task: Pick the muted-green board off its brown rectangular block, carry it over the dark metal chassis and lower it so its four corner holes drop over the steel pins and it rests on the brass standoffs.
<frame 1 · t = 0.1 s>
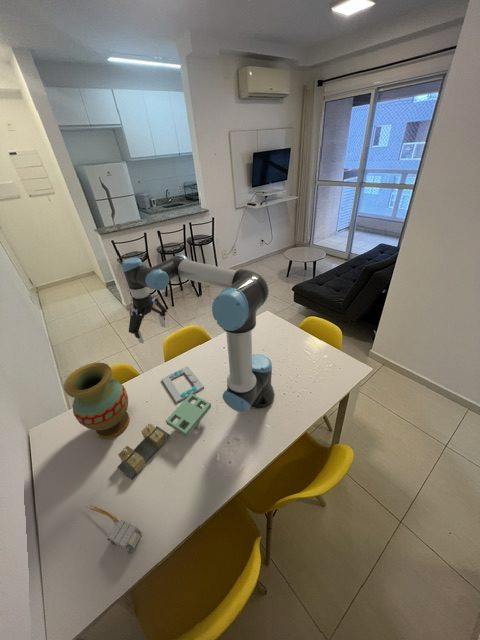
hand: (152, 334, 121), 28 cm above the table, fingers open, 13 cm apart
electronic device: (183, 385, 132), on the table
electrical component: (110, 528, 83), on the table
board: (189, 415, 109), point 6 cm above the table, touching brown rectangular block
brown rectangular block: (191, 423, 113), on the table
chassis: (145, 451, 103), on the table
vase: (113, 424, 114), on the table
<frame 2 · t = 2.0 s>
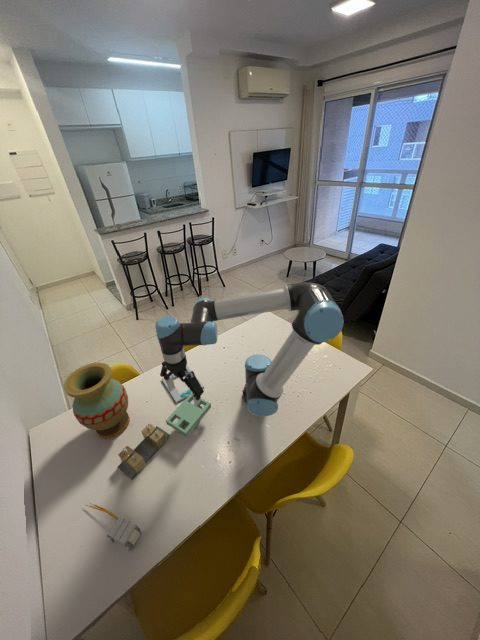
hand: (184, 396, 102), 18 cm above the table, fingers open, 13 cm apart
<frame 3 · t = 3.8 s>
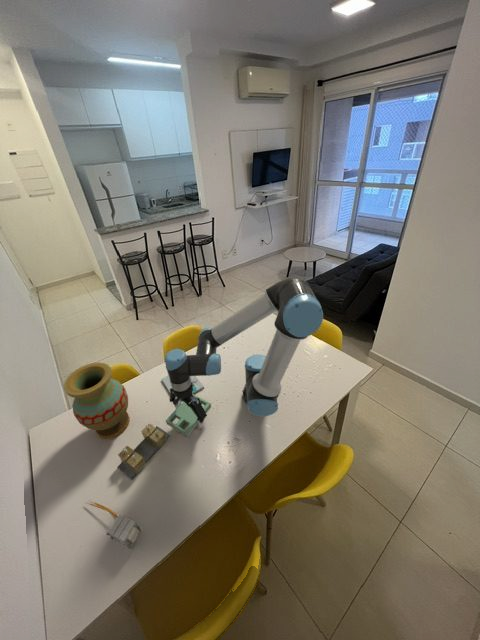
hand: (190, 419, 111), 3 cm above the table, fingers closed on board, 11 cm apart
board: (189, 415, 109), point 6 cm above the table, touching gripper, brown rectangular block
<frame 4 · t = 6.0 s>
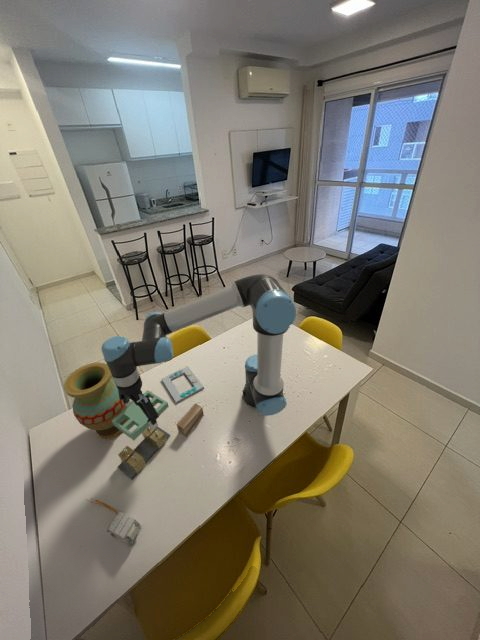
hand: (143, 420, 96), 17 cm above the table, fingers closed on board, 11 cm apart
board: (142, 415, 94), point 20 cm above the table, touching gripper
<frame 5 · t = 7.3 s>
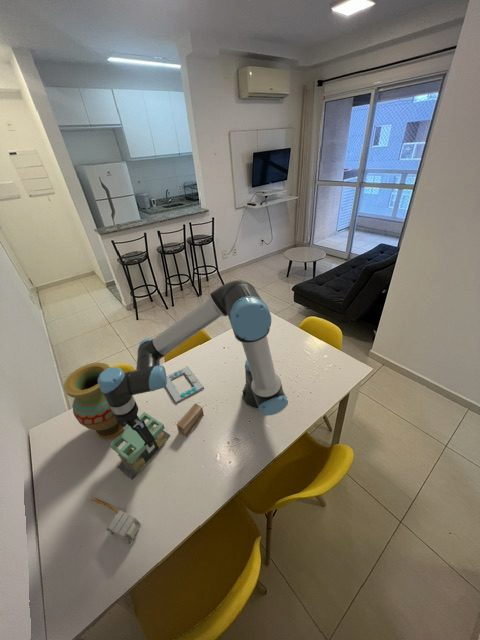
hand: (141, 441, 99), 7 cm above the table, fingers closed on board, 11 cm apart
board: (139, 438, 98), point 10 cm above the table, touching gripper
when the fingers open (4 cm above the table, at t = 8.4 s): board drops 1 cm, resting on chassis.
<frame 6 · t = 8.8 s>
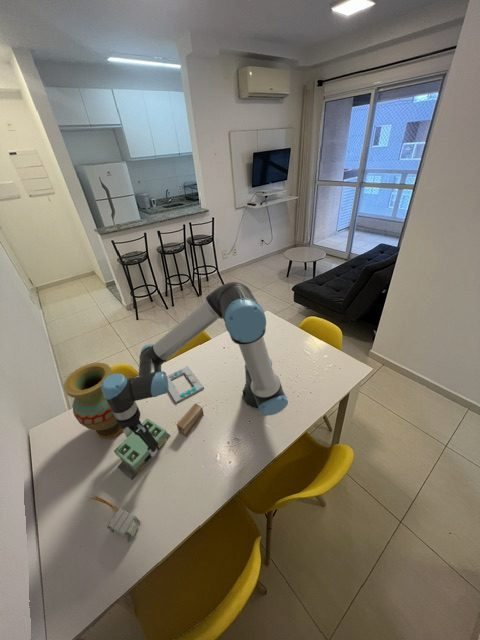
hand: (142, 445, 101), 5 cm above the table, fingers open, 13 cm apart
board: (142, 443, 100), point 5 cm above the table, touching chassis
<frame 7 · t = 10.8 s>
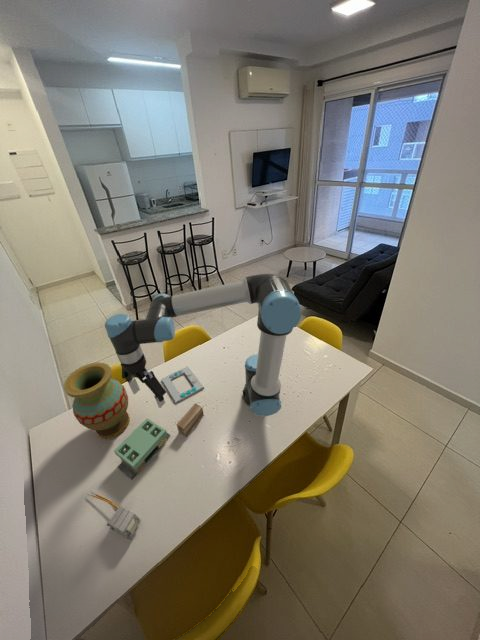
hand: (149, 398, 98), 22 cm above the table, fingers open, 13 cm apart
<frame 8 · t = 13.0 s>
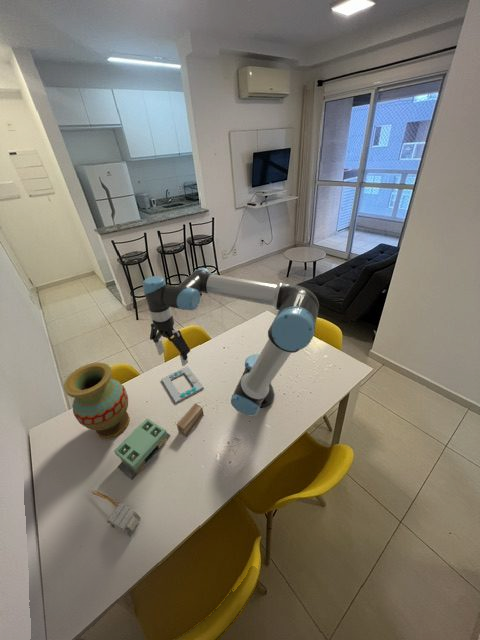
hand: (173, 358, 108), 27 cm above the table, fingers open, 13 cm apart
at the end: board 0.1 cm off-centre on the chassis, point 5.5 cm above the chassis's base; board tilted 0°; board touching chassis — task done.
